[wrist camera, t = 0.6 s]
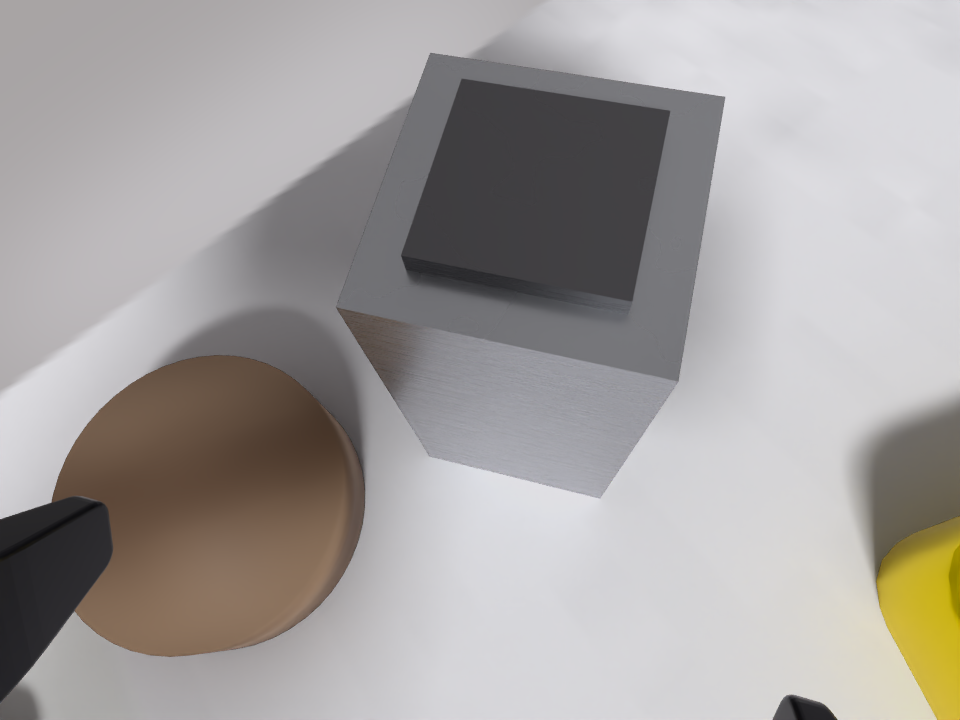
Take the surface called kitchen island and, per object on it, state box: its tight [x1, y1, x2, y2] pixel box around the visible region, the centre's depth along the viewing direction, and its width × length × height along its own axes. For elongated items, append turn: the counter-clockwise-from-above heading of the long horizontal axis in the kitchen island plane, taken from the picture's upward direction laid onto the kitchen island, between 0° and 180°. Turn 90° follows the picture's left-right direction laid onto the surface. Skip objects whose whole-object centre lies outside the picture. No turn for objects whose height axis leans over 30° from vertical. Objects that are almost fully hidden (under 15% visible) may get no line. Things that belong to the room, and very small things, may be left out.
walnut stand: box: [52, 355, 365, 657], centre depth 21 cm, size 9×9×3 cm
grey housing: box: [336, 53, 725, 498], centre depth 17 cm, size 6×6×12 cm
